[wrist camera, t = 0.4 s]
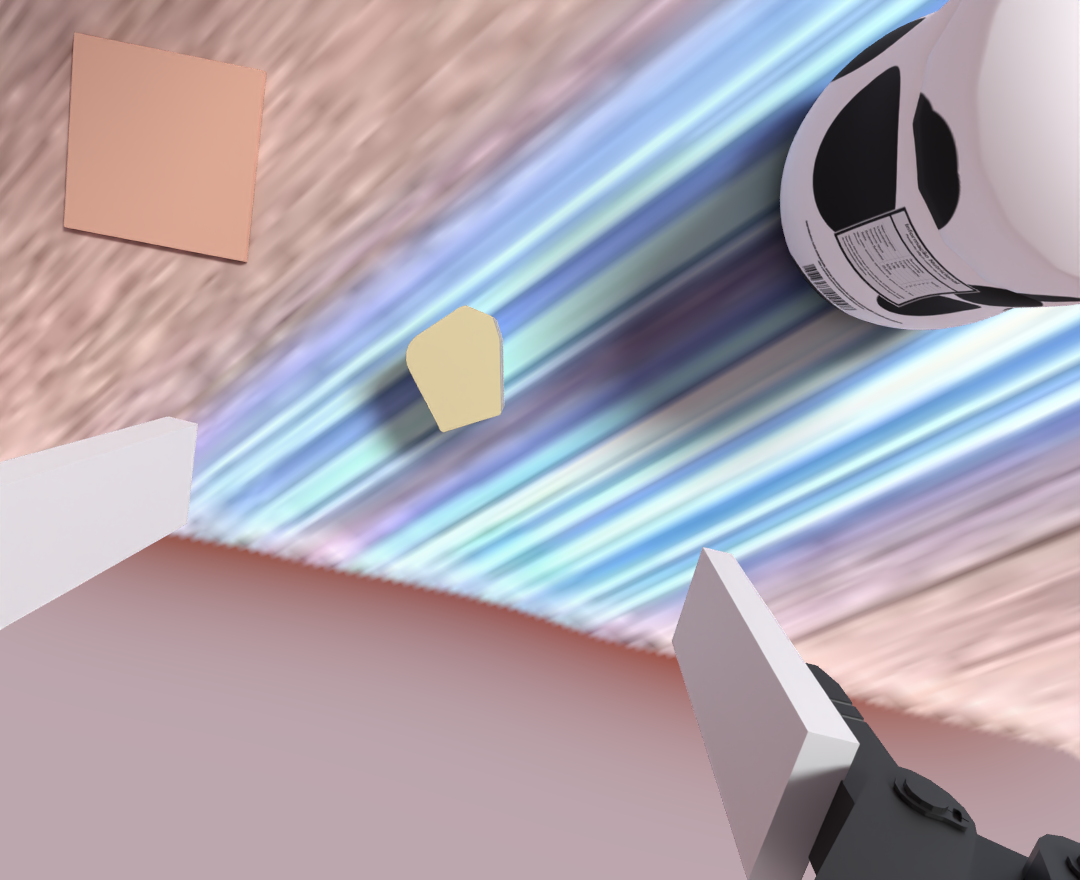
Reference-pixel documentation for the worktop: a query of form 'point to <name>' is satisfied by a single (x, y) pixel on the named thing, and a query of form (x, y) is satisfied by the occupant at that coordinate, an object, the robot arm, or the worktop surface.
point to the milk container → (945, 169)
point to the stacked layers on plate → (460, 368)
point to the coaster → (162, 147)
